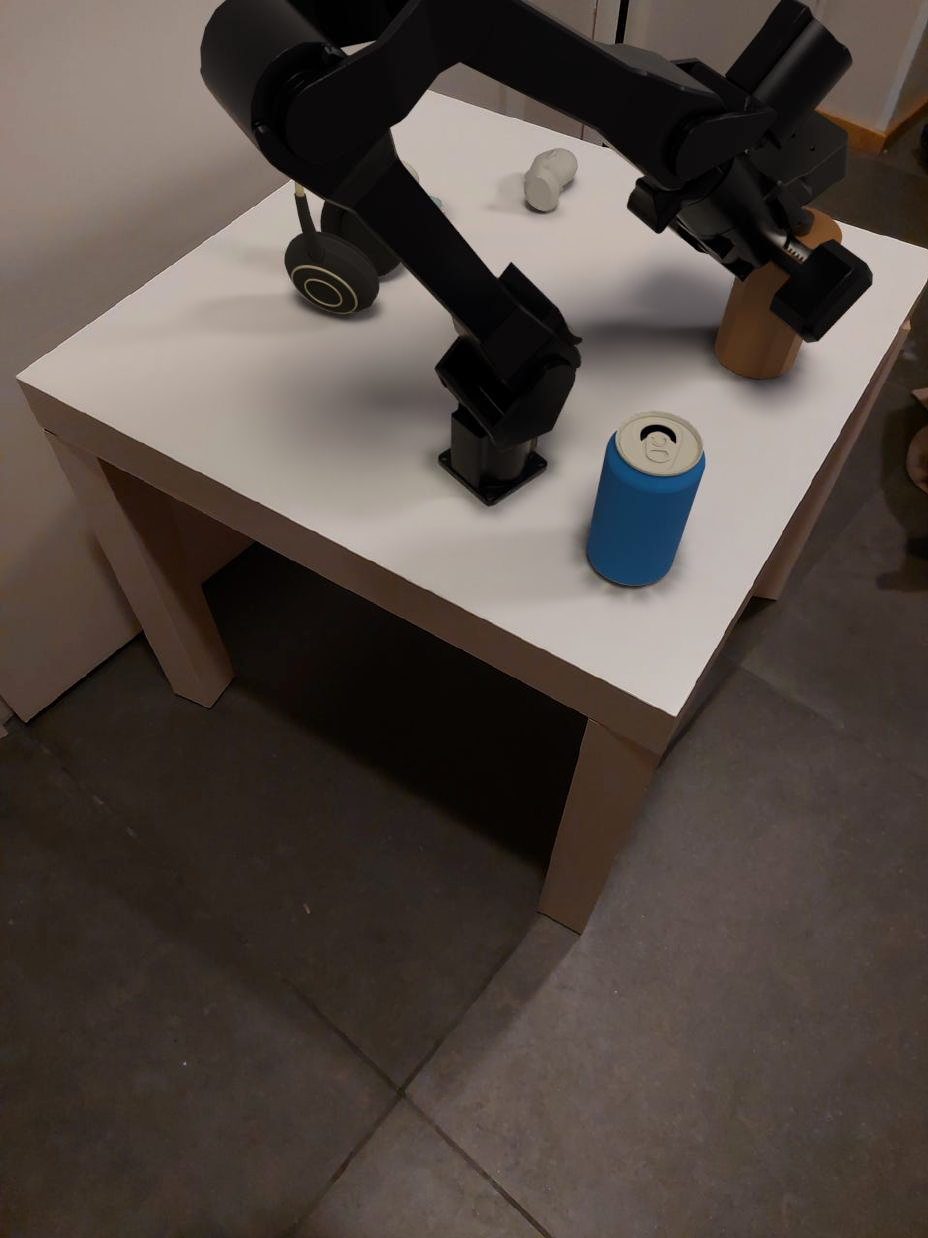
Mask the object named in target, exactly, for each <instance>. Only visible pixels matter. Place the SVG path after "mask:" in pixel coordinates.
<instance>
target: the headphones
mask: <svg viewBox="0 0 928 1238" xmlns="http://www.w3.org/2000/svg"><path fill="white" fill-rule="evenodd" d="M347 55H348V56H350V55H351V54H347ZM293 196H294V201H295V202H294V203H295V207H296V212H297V217H298V221H299V225H300V229H301V233H299V234H297V235H296V236H295V237H293V238H292V239H291V240H290V241H289V243H288V245H287V246H286V250H285V253H284V258H283V259H284V260H283V261H284V267H285V270H286V273H287V276H288V277H289V279H290V281H291V283H292V284H293V287H294V288H295V290H296V291H297V292H298V294H300V295H301V296H302V297H303V298H304V299H305V300H307V301H308V302H309V303H311V304H312V305H314V306H315V307H317V308H319V309H322V310H324V311H327V312H329V313H334V314H339V315H345V314H354V313H359V312H362V311H364V310H367V309H369V308H370V307H371V306H372V305H373V304H374V303H375V301H376V299H377V297H378V295H379V293H380V287H381V285H380V278H381V277H384V276H386V275H388V274H389V273H390V272H392V271H394V270H395V269H396V268H397V267H398V266H399V265H400V264H402V263H401V262H400V261H399V260H398V259H397V258H396V257H395V256H394V255H393V254H392V253H391V252H390V251H389V250H388V249H387V248H386V247H385V246H384V245H383V244H382V243H381V242H380V241H379V239H378V238H377V237H376V236H375V235H374V234H373V233H372V232H371V231H370V230H369V229H368V228H367V227H366V226H365V225H364V224H363V223H362V222H361V221H360V220H359V219H358V218H357V217H356V216H355V215H354V214H353V213H351V212H350V211H348V210H346V209H344V208H342V207H339V206H337V205H334V204H332V203H329V202H327V201H323V204H322V208H321V211H320V219H319V220H320V221H319V223H320V231H317V229H316V226H315V224H314V221H313V218H312V216H311V210H310V206H309V202H308V198H307V194H306V193H305V188H304V187H303V186H301V185H300V184H298V183H297V182H295V181H294V194H293Z"/></svg>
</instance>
